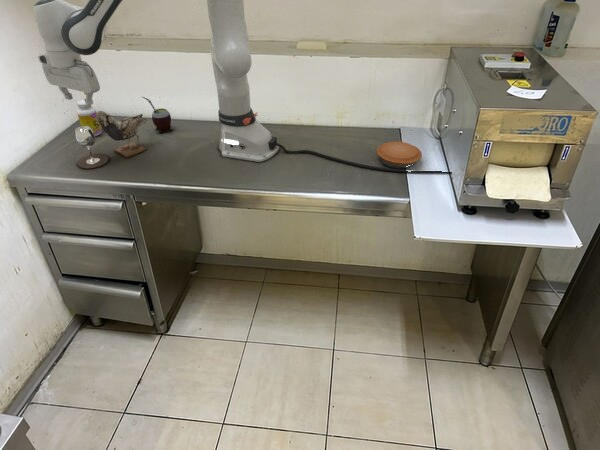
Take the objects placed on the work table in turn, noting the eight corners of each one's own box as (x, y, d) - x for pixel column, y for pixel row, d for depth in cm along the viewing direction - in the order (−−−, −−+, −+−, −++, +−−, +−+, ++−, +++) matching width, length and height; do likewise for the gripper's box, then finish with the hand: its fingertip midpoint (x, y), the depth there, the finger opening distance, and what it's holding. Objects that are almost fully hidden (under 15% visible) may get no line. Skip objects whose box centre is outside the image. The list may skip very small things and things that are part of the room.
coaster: (114, 159, 155) (114, 157, 154) (92, 171, 148) (91, 170, 147) (94, 152, 158) (94, 151, 158) (71, 165, 151) (71, 163, 151)
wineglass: (95, 165, 150) (85, 133, 143) (80, 164, 151) (69, 131, 143) (105, 157, 154) (95, 126, 147) (90, 156, 155) (80, 124, 148)
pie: (368, 153, 159) (370, 141, 156) (408, 148, 162) (410, 136, 159) (385, 174, 147) (387, 161, 144) (427, 169, 150) (430, 156, 147)
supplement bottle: (98, 137, 168) (88, 105, 160) (81, 137, 168) (70, 105, 160) (104, 130, 173) (95, 98, 166) (88, 130, 174) (78, 98, 166)
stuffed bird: (99, 161, 153) (85, 114, 143) (134, 137, 168) (124, 93, 158) (123, 166, 151) (110, 119, 140) (156, 141, 166) (147, 97, 155)
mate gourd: (176, 127, 176) (169, 90, 167) (166, 135, 170) (159, 98, 160) (159, 125, 177) (151, 89, 168) (149, 133, 171) (141, 96, 162)
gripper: (97, 59, 131) (110, 103, 139) (51, 50, 138) (66, 93, 147) (80, 65, 126) (94, 110, 135) (33, 56, 134) (50, 99, 142)
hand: (79, 101), depth 141 cm, fingers open, 8 cm apart
